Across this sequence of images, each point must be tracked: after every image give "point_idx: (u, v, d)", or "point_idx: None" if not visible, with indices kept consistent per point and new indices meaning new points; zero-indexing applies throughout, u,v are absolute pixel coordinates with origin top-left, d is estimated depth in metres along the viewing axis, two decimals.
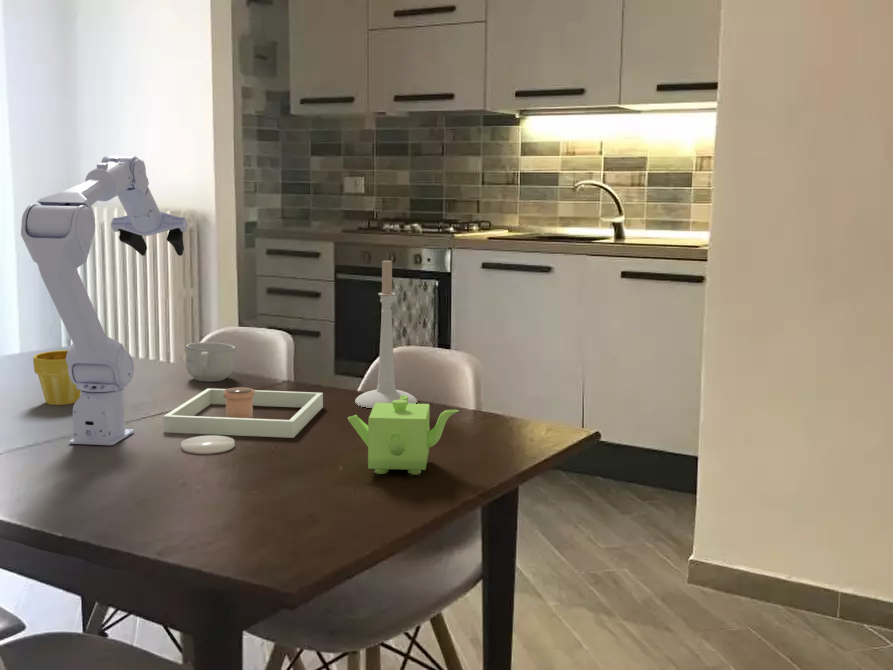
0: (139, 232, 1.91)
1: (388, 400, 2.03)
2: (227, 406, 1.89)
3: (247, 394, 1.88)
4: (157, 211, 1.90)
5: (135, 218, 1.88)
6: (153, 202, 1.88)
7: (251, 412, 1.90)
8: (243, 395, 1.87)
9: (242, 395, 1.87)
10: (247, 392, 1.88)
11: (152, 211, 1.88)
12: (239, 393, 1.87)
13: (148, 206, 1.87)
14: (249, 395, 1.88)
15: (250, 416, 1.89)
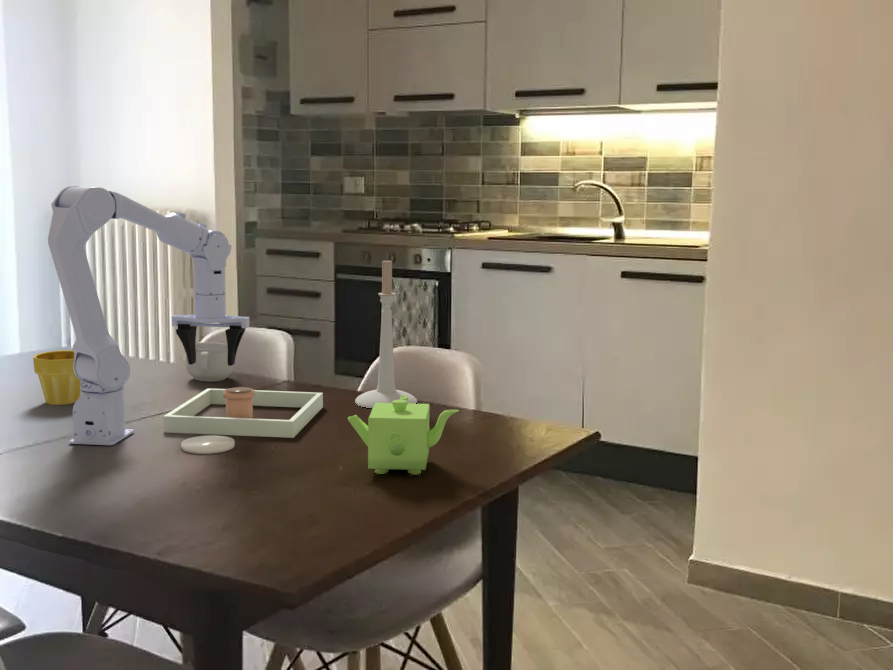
0: (200, 318, 1.88)
1: (388, 400, 2.03)
2: (227, 406, 1.89)
3: (247, 394, 1.88)
4: (224, 302, 1.90)
5: (203, 297, 1.87)
6: (219, 290, 1.88)
7: (251, 412, 1.90)
8: (243, 395, 1.87)
9: (242, 395, 1.87)
10: (247, 392, 1.88)
11: (221, 296, 1.88)
12: (239, 393, 1.87)
13: (211, 287, 1.87)
14: (249, 395, 1.88)
15: (250, 416, 1.89)
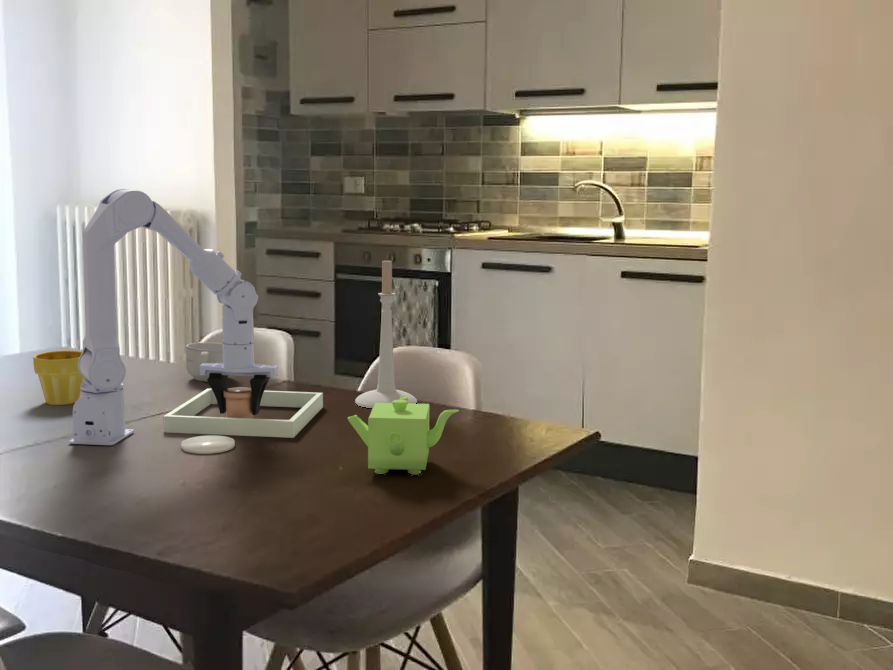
0: (228, 368, 1.86)
1: (388, 400, 2.03)
2: (227, 406, 1.89)
3: (247, 394, 1.88)
4: (253, 351, 1.88)
5: (231, 346, 1.85)
6: (244, 340, 1.86)
7: (251, 412, 1.90)
8: (243, 395, 1.87)
9: (242, 395, 1.87)
10: (247, 392, 1.88)
11: (249, 345, 1.87)
12: (239, 393, 1.87)
13: (235, 337, 1.85)
14: (249, 395, 1.88)
15: (250, 416, 1.89)
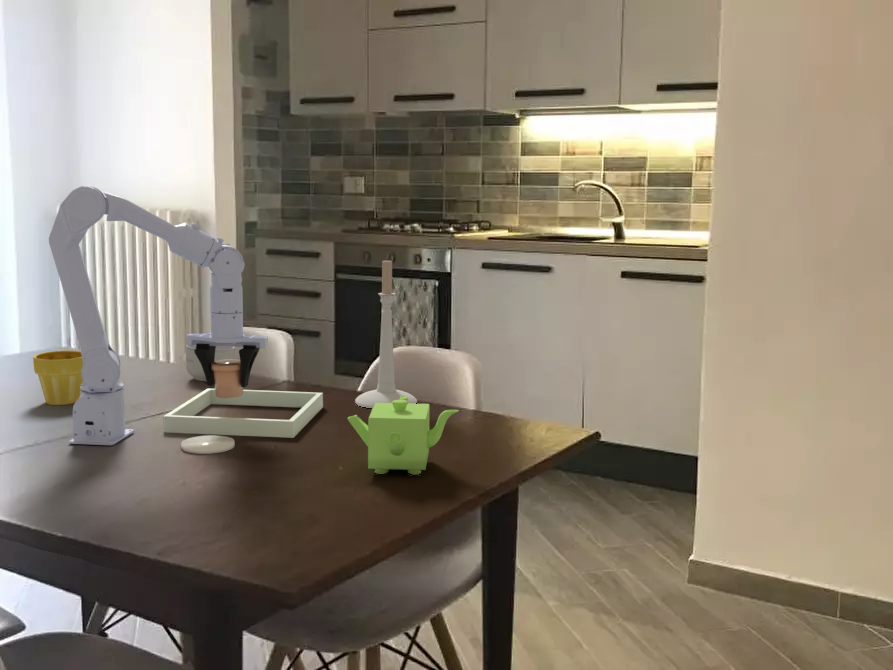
0: (216, 338, 1.79)
1: (388, 400, 2.03)
2: (216, 379, 1.81)
3: (236, 366, 1.81)
4: (242, 321, 1.81)
5: (220, 315, 1.78)
6: (229, 309, 1.78)
7: None
8: (232, 367, 1.80)
9: (231, 367, 1.80)
10: (236, 364, 1.81)
11: (238, 314, 1.80)
12: (228, 365, 1.80)
13: (220, 305, 1.78)
14: (238, 367, 1.81)
15: (240, 389, 1.82)
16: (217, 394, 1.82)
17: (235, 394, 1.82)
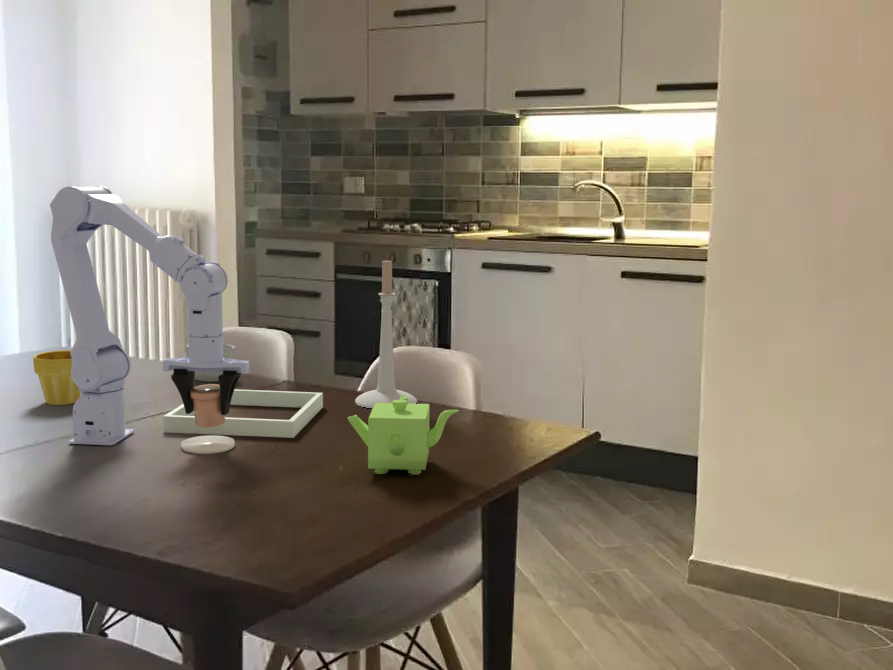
0: (194, 363, 1.68)
1: (388, 400, 2.03)
2: (195, 407, 1.71)
3: (216, 393, 1.70)
4: (222, 344, 1.70)
5: (198, 339, 1.67)
6: (198, 333, 1.67)
7: None
8: (212, 395, 1.69)
9: (211, 395, 1.69)
10: (216, 391, 1.70)
11: (218, 338, 1.68)
12: (207, 393, 1.69)
13: (190, 328, 1.68)
14: (218, 394, 1.70)
15: (221, 416, 1.72)
16: (197, 423, 1.71)
17: (216, 422, 1.71)
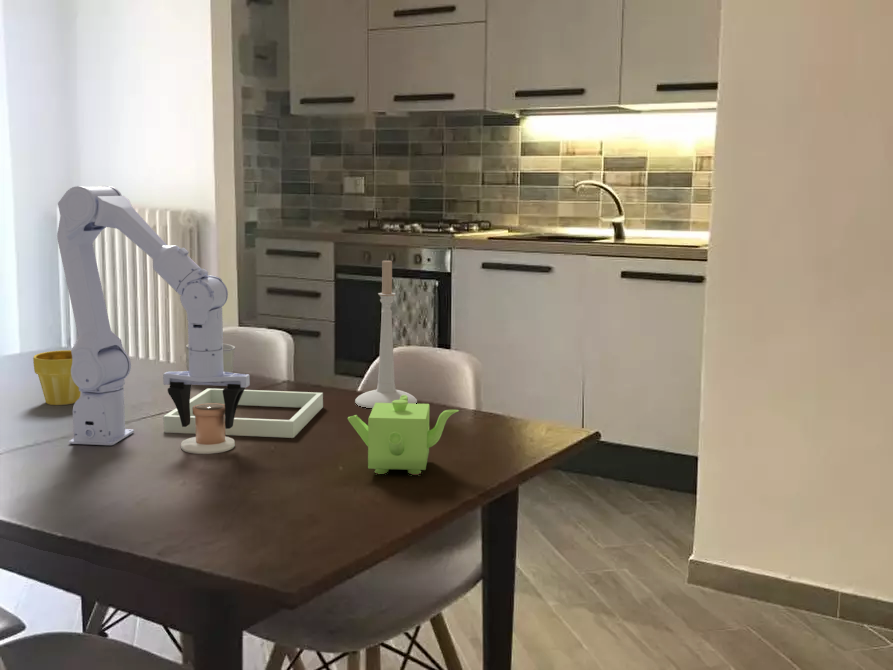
0: (195, 377, 1.68)
1: (388, 400, 2.03)
2: (197, 424, 1.72)
3: (218, 411, 1.71)
4: (222, 358, 1.70)
5: (198, 353, 1.67)
6: (199, 347, 1.67)
7: (223, 430, 1.73)
8: (214, 412, 1.70)
9: (213, 412, 1.70)
10: (218, 408, 1.71)
11: (218, 351, 1.69)
12: (210, 410, 1.71)
13: (191, 342, 1.68)
14: (221, 412, 1.71)
15: (222, 435, 1.73)
16: (198, 440, 1.72)
17: (217, 440, 1.72)
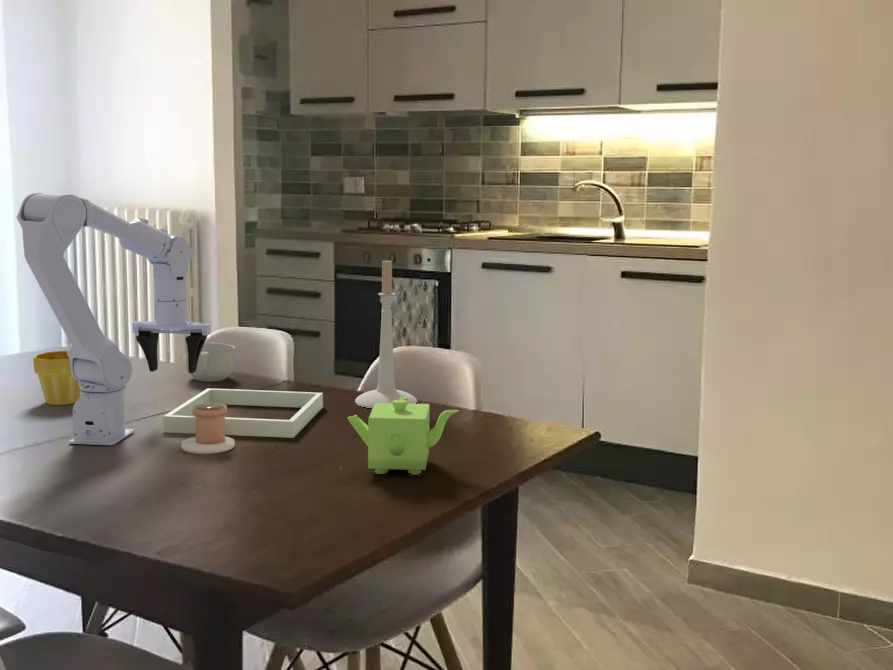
0: (160, 325, 1.85)
1: (388, 400, 2.03)
2: (197, 424, 1.72)
3: (218, 411, 1.71)
4: (185, 309, 1.87)
5: (163, 303, 1.84)
6: (182, 297, 1.86)
7: (223, 430, 1.73)
8: (214, 412, 1.70)
9: (213, 412, 1.70)
10: (218, 408, 1.71)
11: (182, 302, 1.86)
12: (209, 410, 1.71)
13: (174, 294, 1.84)
14: (221, 412, 1.71)
15: (222, 435, 1.73)
16: (198, 440, 1.72)
17: (217, 440, 1.72)
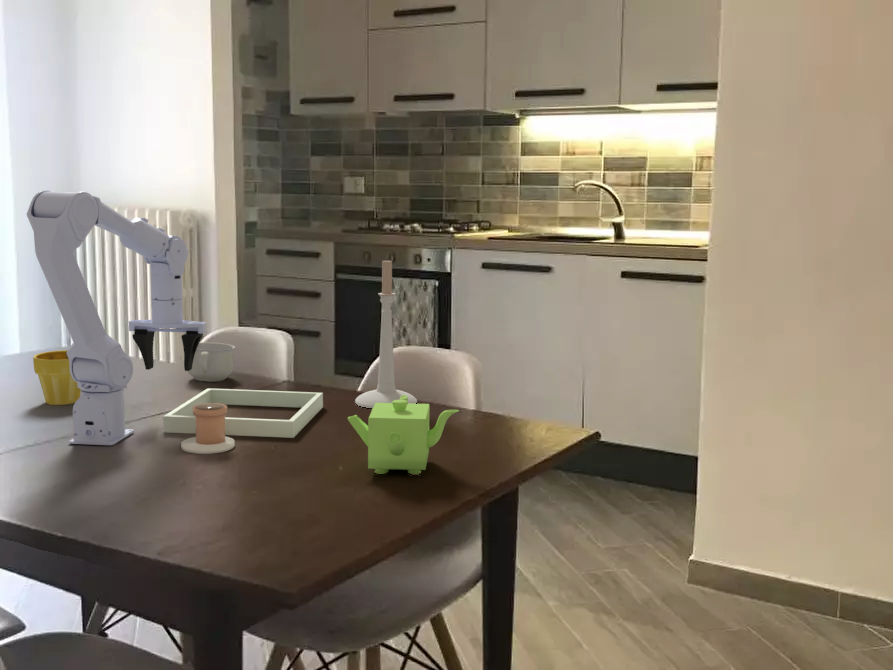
0: (156, 323, 1.87)
1: (388, 400, 2.03)
2: (197, 424, 1.72)
3: (219, 411, 1.71)
4: (181, 307, 1.89)
5: (159, 302, 1.87)
6: (179, 295, 1.88)
7: (223, 430, 1.73)
8: (214, 412, 1.70)
9: (213, 412, 1.70)
10: (219, 409, 1.71)
11: (178, 301, 1.88)
12: (210, 410, 1.71)
13: (172, 292, 1.87)
14: (221, 412, 1.71)
15: (222, 435, 1.73)
16: (198, 440, 1.72)
17: (217, 440, 1.72)
